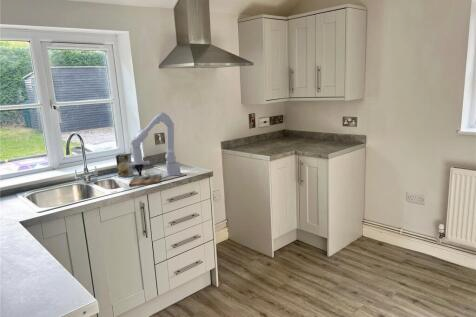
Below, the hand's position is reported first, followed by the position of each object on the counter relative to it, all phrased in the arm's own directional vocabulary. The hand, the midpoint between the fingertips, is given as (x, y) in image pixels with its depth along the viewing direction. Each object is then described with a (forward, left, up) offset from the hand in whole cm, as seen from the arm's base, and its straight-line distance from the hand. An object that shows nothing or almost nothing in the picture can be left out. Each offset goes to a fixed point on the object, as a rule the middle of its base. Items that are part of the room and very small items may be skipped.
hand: (140, 175), depth 244 cm
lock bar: (-4, +2, -1) cm, 5 cm away
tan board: (-4, +5, -3) cm, 7 cm away
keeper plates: (-4, +2, -2) cm, 5 cm away
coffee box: (+13, -16, -3) cm, 20 cm away
